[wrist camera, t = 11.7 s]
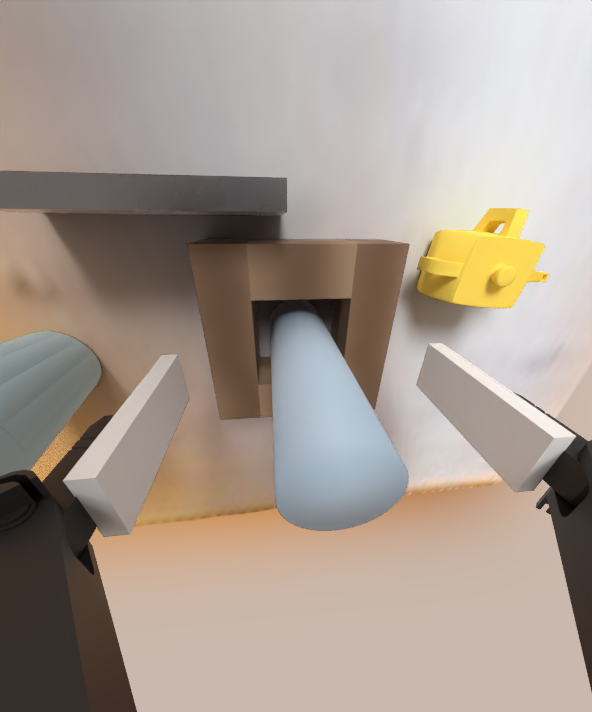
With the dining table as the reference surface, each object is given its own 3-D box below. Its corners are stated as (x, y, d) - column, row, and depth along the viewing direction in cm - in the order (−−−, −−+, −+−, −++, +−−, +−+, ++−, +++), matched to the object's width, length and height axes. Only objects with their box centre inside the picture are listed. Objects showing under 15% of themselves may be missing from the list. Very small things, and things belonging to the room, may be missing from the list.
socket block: (227, 388, 22) (220, 419, 18) (204, 239, 16) (186, 244, 12) (358, 380, 23) (374, 409, 19) (380, 239, 17) (409, 244, 14)
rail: (43, 213, 14) (-84, 207, 9) (33, 188, 14) (-110, 167, 9) (280, 215, 16) (286, 211, 10) (279, 193, 15) (286, 177, 10)
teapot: (521, 218, 17) (609, 217, 13) (483, 297, 20) (545, 319, 16) (419, 203, 16) (477, 195, 12) (393, 289, 19) (432, 310, 15)
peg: (270, 346, 20) (277, 537, 8) (268, 299, 18) (272, 454, 6) (318, 344, 21) (393, 523, 8) (320, 298, 19) (423, 441, 6)
